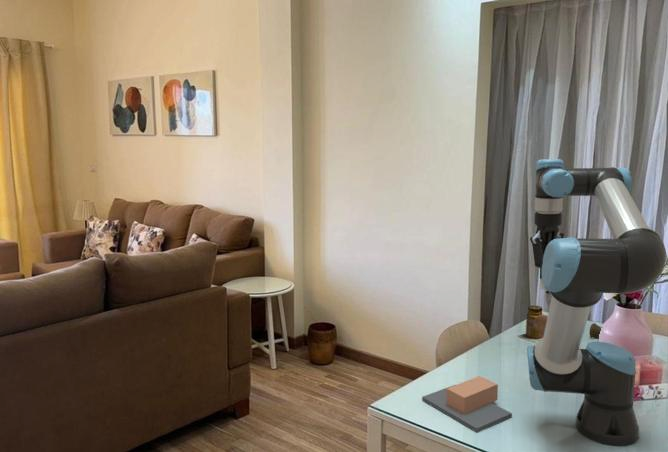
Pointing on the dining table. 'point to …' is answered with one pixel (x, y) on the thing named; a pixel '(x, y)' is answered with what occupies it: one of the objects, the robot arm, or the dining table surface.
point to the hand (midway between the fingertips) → (545, 288)
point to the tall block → (471, 394)
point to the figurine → (540, 324)
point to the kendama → (595, 330)
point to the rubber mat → (473, 419)
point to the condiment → (530, 330)
